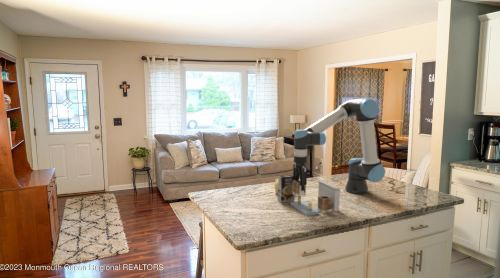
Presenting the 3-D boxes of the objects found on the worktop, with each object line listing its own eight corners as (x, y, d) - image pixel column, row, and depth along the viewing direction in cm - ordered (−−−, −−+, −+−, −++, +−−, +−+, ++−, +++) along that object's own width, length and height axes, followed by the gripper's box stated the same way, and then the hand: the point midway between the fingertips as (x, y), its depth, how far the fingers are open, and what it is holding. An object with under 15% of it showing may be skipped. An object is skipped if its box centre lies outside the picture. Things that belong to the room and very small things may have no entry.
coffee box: (281, 203, 205) (281, 177, 202) (277, 199, 211) (278, 174, 209) (294, 201, 207) (295, 176, 205) (290, 198, 213) (291, 174, 211)
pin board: (302, 203, 205) (302, 194, 204) (319, 214, 186) (319, 204, 185) (290, 204, 202) (290, 195, 201) (306, 215, 183) (306, 206, 183)
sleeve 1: (301, 192, 203) (301, 180, 202) (305, 195, 197) (305, 182, 196) (292, 193, 201) (293, 180, 200) (296, 196, 196) (297, 183, 195)
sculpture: (291, 190, 231) (291, 175, 229) (291, 196, 219) (291, 180, 218) (274, 190, 232) (274, 175, 231) (274, 195, 220) (274, 179, 219)
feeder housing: (322, 201, 208) (323, 180, 206) (338, 210, 191) (339, 188, 190) (317, 202, 207) (318, 181, 205) (334, 211, 190) (334, 189, 188)
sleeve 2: (326, 208, 195) (326, 195, 194) (331, 212, 189) (331, 198, 188) (317, 209, 193) (318, 196, 192) (322, 213, 188) (323, 199, 186)
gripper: (287, 153, 204) (286, 190, 207) (302, 159, 186) (300, 199, 189) (298, 153, 206) (297, 189, 209) (314, 158, 189) (312, 198, 192)
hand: (299, 194), depth 199 cm, fingers closed on sleeve 1, 6 cm apart
